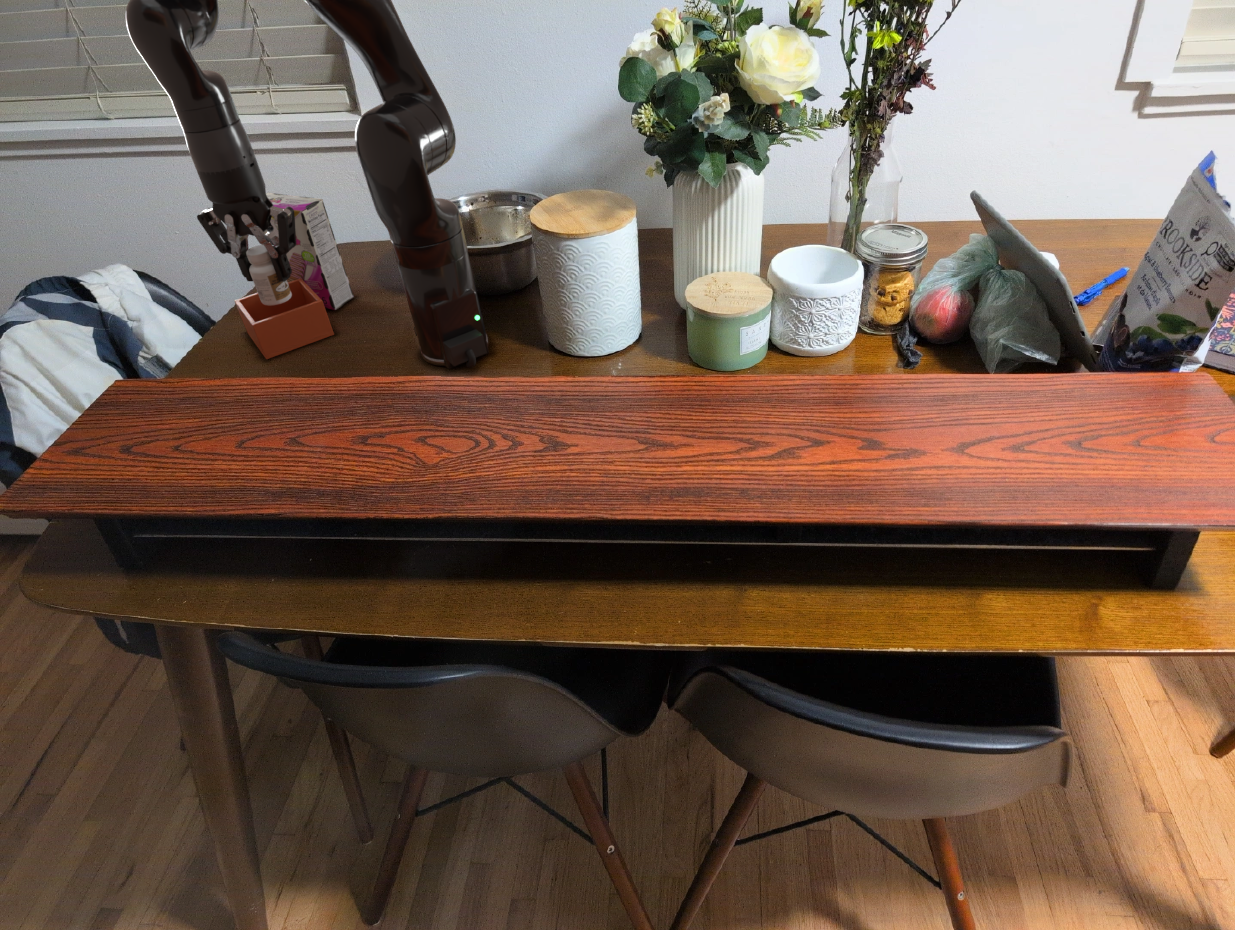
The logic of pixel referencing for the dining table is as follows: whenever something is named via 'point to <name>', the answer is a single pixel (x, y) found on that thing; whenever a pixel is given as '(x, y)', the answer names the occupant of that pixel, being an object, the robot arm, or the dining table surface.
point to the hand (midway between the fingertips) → (269, 278)
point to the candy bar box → (315, 250)
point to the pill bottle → (266, 277)
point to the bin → (285, 320)
